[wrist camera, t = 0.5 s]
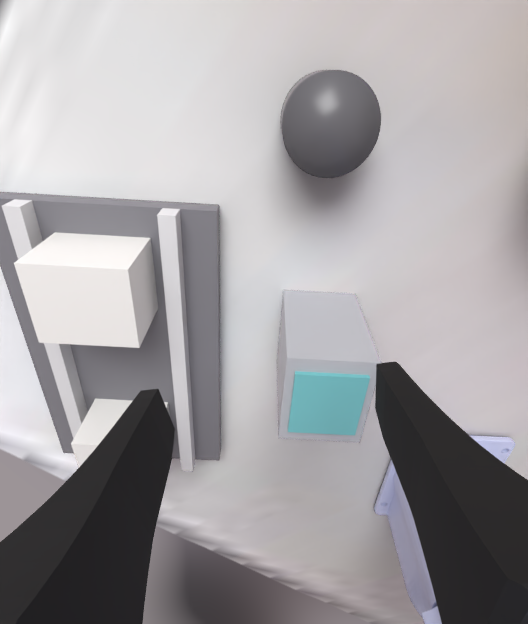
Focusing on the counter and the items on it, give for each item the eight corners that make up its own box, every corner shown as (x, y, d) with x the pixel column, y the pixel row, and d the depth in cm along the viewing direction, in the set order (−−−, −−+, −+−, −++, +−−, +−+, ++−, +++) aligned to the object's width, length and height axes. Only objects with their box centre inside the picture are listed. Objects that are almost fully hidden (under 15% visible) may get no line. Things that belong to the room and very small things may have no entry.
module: (341, 363, 24) (360, 445, 19) (276, 360, 24) (278, 441, 19) (355, 293, 21) (383, 366, 16) (283, 289, 21) (287, 361, 16)
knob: (355, 164, 18) (369, 180, 15) (277, 160, 18) (278, 175, 15) (371, 73, 16) (390, 73, 13) (284, 67, 16) (286, 66, 13)
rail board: (220, 448, 28) (212, 507, 24) (69, 441, 28) (38, 499, 24) (218, 204, 19) (205, 239, 15) (-10, 191, 19) (-82, 222, 15)
